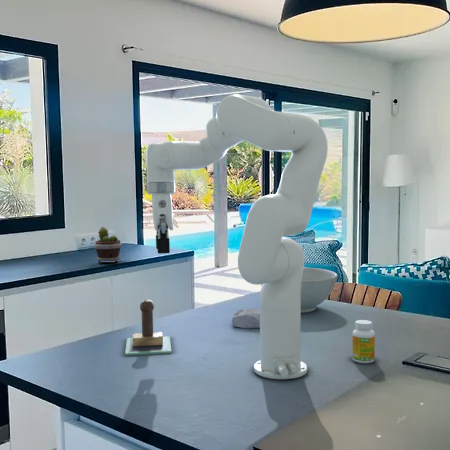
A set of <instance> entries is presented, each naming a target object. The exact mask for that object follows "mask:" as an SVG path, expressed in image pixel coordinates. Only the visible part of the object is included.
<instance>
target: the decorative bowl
mask: <svg viewBox="0 0 450 450" xmlns="http://www.w3.org/2000/svg"><path fill="white" fill-rule="evenodd" d="M337 279H338V273H336V271H335V272H334V271H332V270H329V269H324V268H317V267H304V271H303V276H302V283H301V313H303V314H304V313H311V312H314V311H315V310H316V309H317V306H319V305H321V304H322V303H324V301H325V300H327V299H328V298H329V296H331V293H332V292H333V290H334V288H335V285H336V283H337ZM260 285H261V287H262V284H260Z"/></svg>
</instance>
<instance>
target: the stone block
mask: <svg viewBox="0 0 450 450" xmlns="http://www.w3.org/2000/svg"><path fill="white" fill-rule="evenodd" d="M231 322H232V325H233V326H234V327H235V328H239V329H260V308H253V307H252V308H245V309H241V310H237V311H236V312H235V313H234V314H233V316H232V317H231Z"/></svg>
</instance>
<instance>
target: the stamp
mask: <svg viewBox="0 0 450 450" xmlns="http://www.w3.org/2000/svg"><path fill="white" fill-rule="evenodd" d="M154 309H155V304H154V302H153V301H152V300H150V299H143V300H142V301H141V302H140V304H139V310H140V311H141V332H140V333H133V334H132V338H133V347H149V346H163V331H158V332H154Z"/></svg>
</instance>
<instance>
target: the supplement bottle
mask: <svg viewBox="0 0 450 450" xmlns="http://www.w3.org/2000/svg"><path fill="white" fill-rule="evenodd" d="M354 324H355V329H354V330H353V331H352V337H351V338H352V340H351V341H352V344H351V346H352V348H351V349H352V350H351V351H352V354H351V358H352V361H354V362H356V363H359V364H371V363H373V362H374V361H375V359H376V358H375V357H376V355H375V354H376V352H375V351H376V349H375V347H376V346H375V345H376V342H375V341H376V333H375V331H374V330H373V322H372V321H371V320H367V319H359V320H358V319H357V320H356V321H355V323H354Z"/></svg>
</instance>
